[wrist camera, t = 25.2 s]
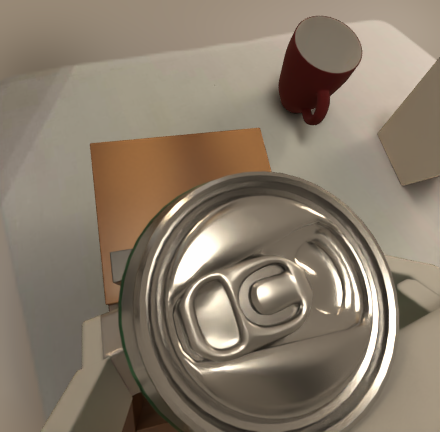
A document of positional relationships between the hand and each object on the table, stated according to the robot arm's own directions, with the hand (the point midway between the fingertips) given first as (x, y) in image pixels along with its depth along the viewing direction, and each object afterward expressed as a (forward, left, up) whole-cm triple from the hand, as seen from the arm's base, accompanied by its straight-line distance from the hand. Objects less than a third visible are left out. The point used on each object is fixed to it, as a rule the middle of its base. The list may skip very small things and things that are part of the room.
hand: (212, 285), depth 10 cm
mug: (+20, +23, -25) cm, 39 cm away
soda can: (0, -1, -7) cm, 7 cm away
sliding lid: (+2, +8, -16) cm, 18 cm away
